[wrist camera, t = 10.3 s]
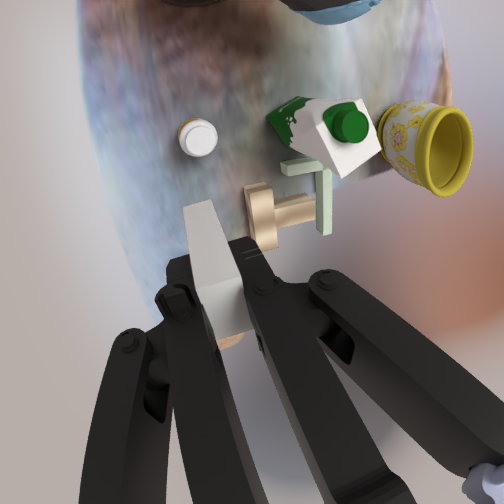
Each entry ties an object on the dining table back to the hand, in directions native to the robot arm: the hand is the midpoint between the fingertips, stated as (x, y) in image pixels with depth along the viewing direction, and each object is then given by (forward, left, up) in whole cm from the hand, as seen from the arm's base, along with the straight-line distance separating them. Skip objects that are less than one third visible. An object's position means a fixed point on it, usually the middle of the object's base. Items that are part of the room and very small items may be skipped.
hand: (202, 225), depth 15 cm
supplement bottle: (-1, +3, -32) cm, 32 cm away
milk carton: (0, +20, -32) cm, 38 cm away
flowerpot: (+4, +46, -32) cm, 56 cm away
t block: (+16, +15, -32) cm, 39 cm away
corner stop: (+15, +21, -32) cm, 41 cm away
